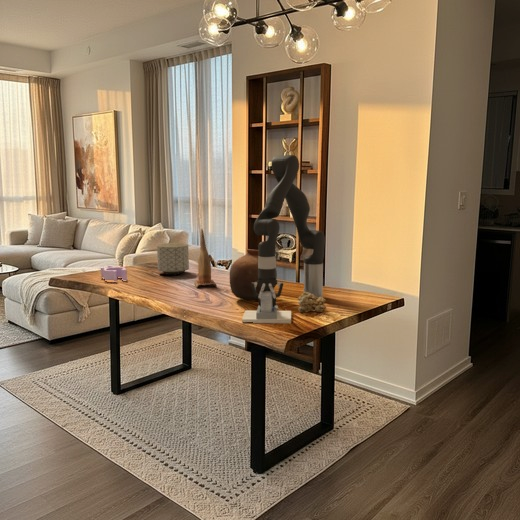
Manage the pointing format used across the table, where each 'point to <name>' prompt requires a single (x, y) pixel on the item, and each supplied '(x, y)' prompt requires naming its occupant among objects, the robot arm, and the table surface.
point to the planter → (173, 258)
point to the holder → (267, 316)
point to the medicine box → (266, 301)
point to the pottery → (245, 276)
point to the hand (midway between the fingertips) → (267, 306)
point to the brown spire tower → (204, 265)
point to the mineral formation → (310, 302)
